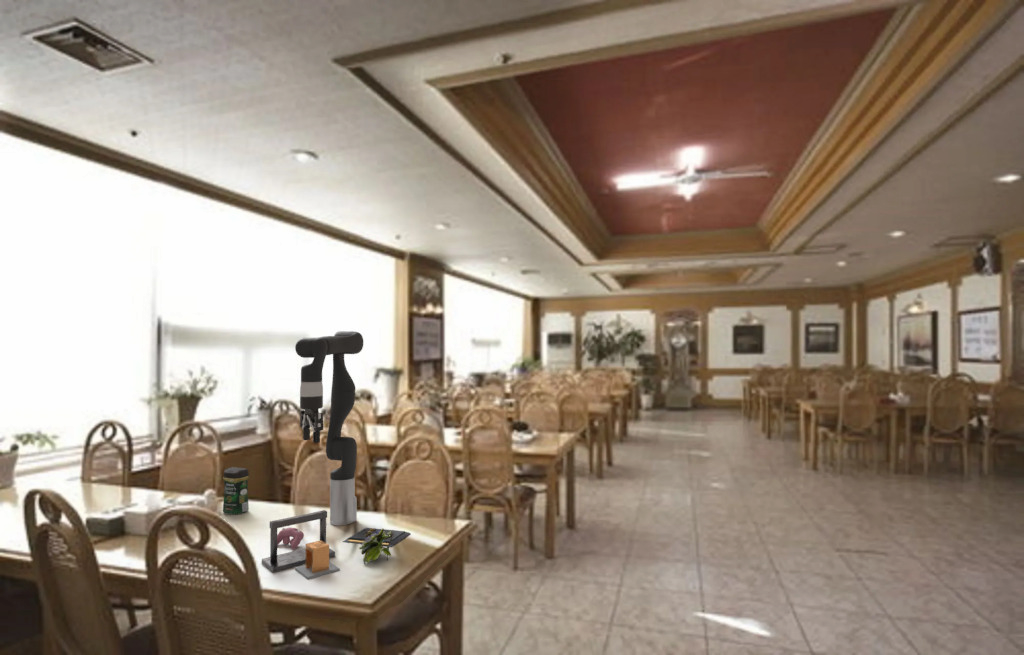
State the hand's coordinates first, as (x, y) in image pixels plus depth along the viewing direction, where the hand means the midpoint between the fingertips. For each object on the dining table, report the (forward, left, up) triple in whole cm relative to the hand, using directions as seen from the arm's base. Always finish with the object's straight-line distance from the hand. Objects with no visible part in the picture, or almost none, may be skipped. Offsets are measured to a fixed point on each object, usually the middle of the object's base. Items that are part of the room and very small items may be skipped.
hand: (311, 441), depth 198 cm
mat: (+7, +22, -36) cm, 43 cm away
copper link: (+7, +22, -35) cm, 42 cm away
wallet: (-21, +8, -37) cm, 43 cm away
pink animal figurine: (+6, -6, -36) cm, 37 cm away
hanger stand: (+8, +10, -36) cm, 38 cm away
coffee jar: (+7, -61, -36) cm, 71 cm away
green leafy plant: (-12, +26, -36) cm, 46 cm away
